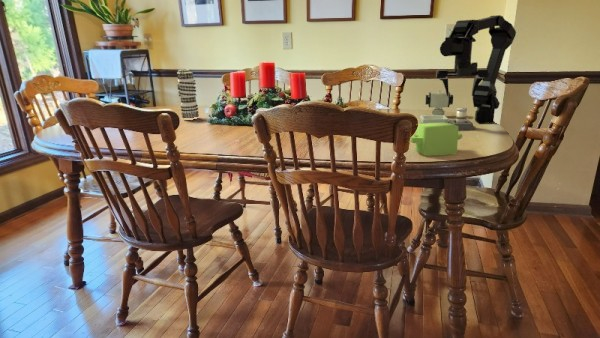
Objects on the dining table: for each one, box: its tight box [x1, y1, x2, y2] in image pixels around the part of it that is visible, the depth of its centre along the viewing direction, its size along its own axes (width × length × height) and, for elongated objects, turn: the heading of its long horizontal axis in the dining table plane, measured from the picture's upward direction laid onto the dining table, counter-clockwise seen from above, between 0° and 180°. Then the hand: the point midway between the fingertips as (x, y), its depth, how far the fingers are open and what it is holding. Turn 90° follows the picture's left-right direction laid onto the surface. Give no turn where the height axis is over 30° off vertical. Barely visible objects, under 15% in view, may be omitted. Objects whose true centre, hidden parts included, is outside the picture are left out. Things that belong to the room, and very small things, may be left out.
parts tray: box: [419, 114, 449, 124], centre depth 176 cm, size 10×9×3 cm
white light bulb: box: [455, 107, 468, 123], centre depth 165 cm, size 4×4×8 cm
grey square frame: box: [448, 119, 474, 131], centre depth 165 cm, size 8×8×2 cm
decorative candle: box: [176, 68, 200, 119], centre depth 207 cm, size 9×9×25 cm
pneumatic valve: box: [424, 89, 454, 115], centre depth 187 cm, size 6×12×12 cm, turn 75°
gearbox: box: [409, 122, 463, 157], centre depth 134 cm, size 18×10×10 cm, turn 98°
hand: (459, 96), depth 161 cm, fingers open, 9 cm apart
